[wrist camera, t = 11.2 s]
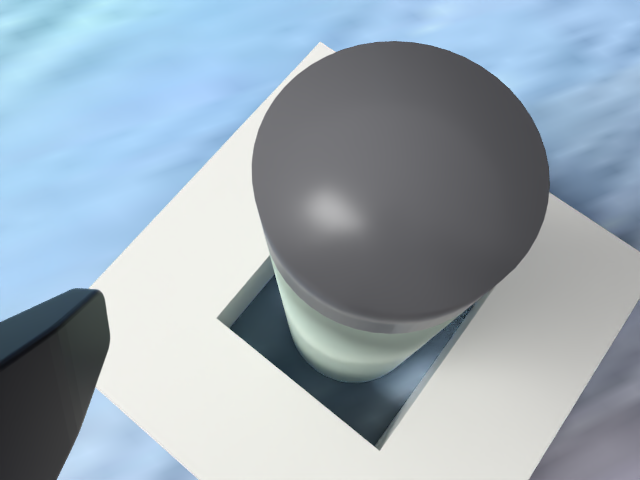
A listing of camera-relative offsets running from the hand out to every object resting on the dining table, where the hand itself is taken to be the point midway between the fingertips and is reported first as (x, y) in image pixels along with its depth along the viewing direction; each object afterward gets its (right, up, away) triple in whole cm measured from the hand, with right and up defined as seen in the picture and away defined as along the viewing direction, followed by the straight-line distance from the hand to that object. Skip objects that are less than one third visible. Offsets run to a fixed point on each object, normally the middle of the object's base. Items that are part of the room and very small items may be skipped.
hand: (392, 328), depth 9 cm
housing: (0, -1, +13) cm, 13 cm away
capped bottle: (0, -2, +13) cm, 13 cm away
